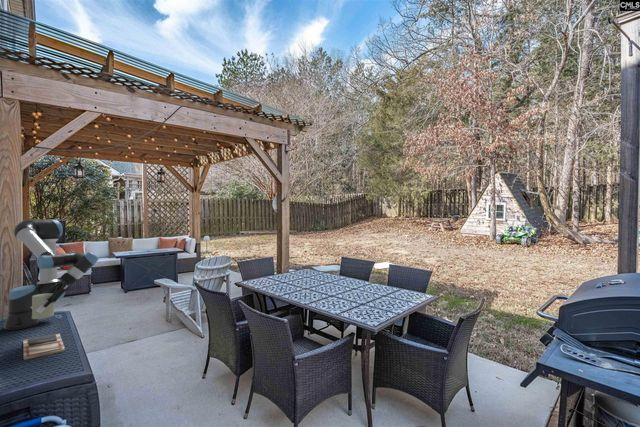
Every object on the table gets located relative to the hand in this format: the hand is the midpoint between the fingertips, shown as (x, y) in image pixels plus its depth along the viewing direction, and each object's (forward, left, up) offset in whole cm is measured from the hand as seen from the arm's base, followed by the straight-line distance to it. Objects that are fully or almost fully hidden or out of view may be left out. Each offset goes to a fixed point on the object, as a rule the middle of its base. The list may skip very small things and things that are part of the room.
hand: (35, 310), depth 168 cm
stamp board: (+3, +10, -17) cm, 20 cm away
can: (-3, +1, -4) cm, 5 cm away
